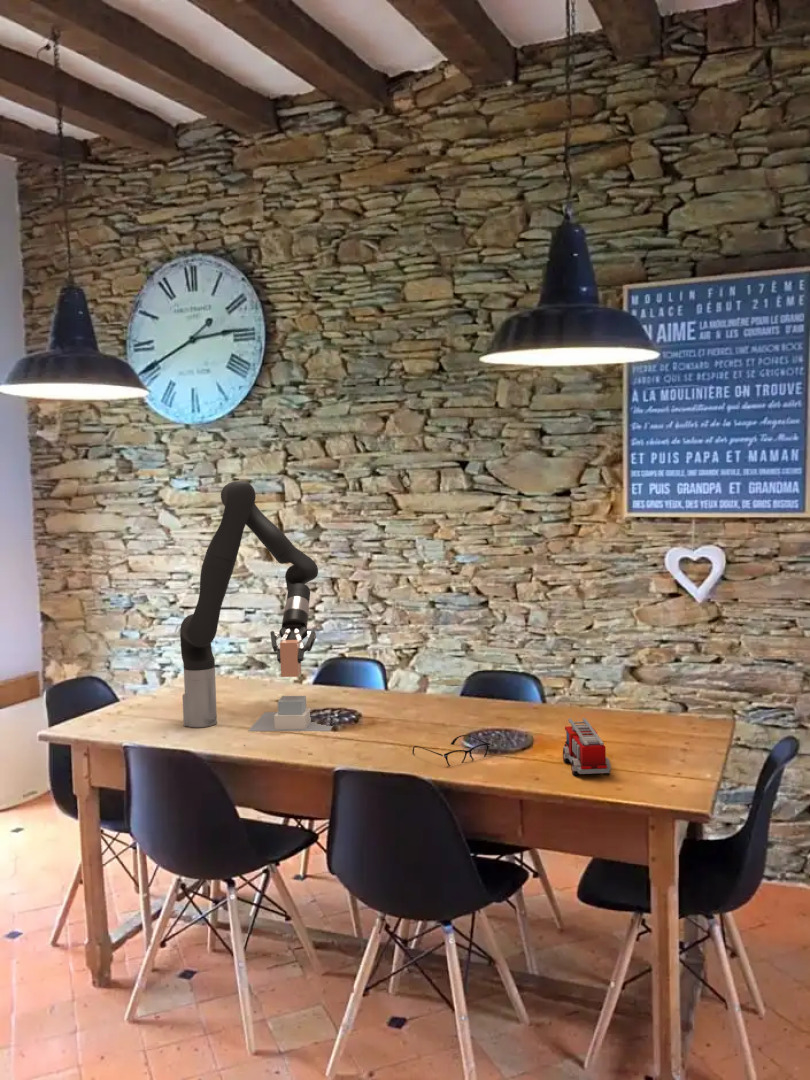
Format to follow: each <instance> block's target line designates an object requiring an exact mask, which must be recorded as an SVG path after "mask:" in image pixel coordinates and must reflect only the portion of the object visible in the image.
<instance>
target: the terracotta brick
mask: <svg viewBox="0 0 810 1080" xmlns="http://www.w3.org/2000/svg"><path fill="white" fill-rule="evenodd" d="M299 643H300V642H299V640H285V641H282V642H281V641H280V642H279V644H280V658H281V663H280V677H281V678H293V677H295V678H298V677H300V675H301V674H302V662H301V663H298V651H299V649H300V647H299Z"/></svg>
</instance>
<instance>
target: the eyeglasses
mask: <svg viewBox="0 0 810 1080" xmlns="http://www.w3.org/2000/svg"><path fill="white" fill-rule="evenodd" d="M462 737H468V738H469V737H470V738H471V739H474V740H477V741H479V742H481V743H480V744H478V745H476V746H473V747H471V748H470V749H467V750H465V749H457V750H456V749H455V750H452V751H449V752H446V753H444V754H441V753H439V752H437V751H433V750H430V749H428V748H424V747H421V746H418V745H415V746H413V747H412V755H414V754H415V749H416V748H419V749H422V750H425V751H428V752H430V753H433V754H435V755H438V756H441V757H443V758H445V762H446V764H447V765H448V766H452V765H451V764H450V763H449V759H448V756H449V755H451V754H453V753H457V752H464V755H463V759H462V761H461V764H463V763H464V762H465V760H466V757H467V756H468V757H469V758H471V760H472V761H475V759H474V758H473V756H472V751H473V750H475V749H477V748H478V747H481V746H486V750H485V752H484V755H483V758H485V757H486V756H487V754H488V750H489V748H490V746H491V743H489V742H485V741H483V740H481V739H478V738H476V737H473V736H471V735H469V734H468V735H467V734H463V735H458V736H457V737H455V738H454V739H453V740H452V741H451V742H450V745H455V743H456V742H457V740H458V739H459V738H462ZM467 754H468V755H467Z"/></svg>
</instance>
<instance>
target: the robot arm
mask: <svg viewBox="0 0 810 1080" xmlns="http://www.w3.org/2000/svg"><path fill="white" fill-rule="evenodd" d="M220 498H221V499H220V500H221V502H222V504H223V507H224V508H223V514H222V518H221V521H220V523H219V526H218V528H217V530H216V531H215V534H213V537H212V539H211V541H210V542H209V544H208V546H207V549H206V552H205V555H204V557H203V558H204V559H203V562H202V565H201V568H200V578H199V594H198V600H197V603H196V606H195V609H194V612H193V613H191V614H189V615H187V616H186V617H184V618H183V620H182V621H181V624H180V627H179V628H180V630H179V635H180V636H179V637H180V654H181V659H182V664H183V683H184V684H183V686H184V693H183V694H182V717H183V718H182V719H183V727H190V728H206V727H211V726H214V725H216V724H217V723H218V713H217V711H218V710H217V686H216V685H217V684H216V663H215V662H216V661H215V656H214V654H213V650H212V642H213V641H214V639H215V638H216V635H217V632H218V627H219V622H220V621H219V620H220V614H221V611H222V610H221V609H222V607H223V603H224V600H225V599H224V598H225V596H226V593H227V590H228V588H229V584H230V582H231V578H232V575H233V572H234V568H235V565H236V561H237V558H238V553H239V551H240V546H241V543H242V537H243V533H244V530H245V528H246V526H247V527H248V528H249V529H250V531H251V532H252V533H253V534H254V535H255V536H256V538H258V540H259V541H260V542H261V544H262V545H263V546H264V547H265V548H266V549H267V551H268V552H269V553H270V555H271V556H272V557H273V558H274V559H275V560H276V561H277V562H278V563H279V564H288V563H289V564H292V565H290V566H289V567H288V568H287V570H286V571H285V575H284V576H285V577H284V578H285V584H286V590H287V594H286V600H285V604H284V608H283V609H284V610H283V617H282V623H281V628H280V630H279V631H274V630H272V631H270V634H269V635H270V639H271V641H270V642H271V647H272V649H273V652H275V653H276V652H277V654H276V660H277V662H278V663H279V664H281V658H280V643H279V644H277V643H278V642H277V640H278V639H279V637H281V639H280V642H282V641H285V640H299V642H300V643H299V647H300V649H299V651H298V663H301V664H302V662H303V661H304V658H305V657H304V656H305V652H311V651H312V648H313V646H314V644H315V641H316V638H317V634H316V630H311V631H310V630H308V623H309V622H308V621H309V616H310V600H311V589H310V587H309V586H308V585H307V584H308V583H309V582H311V581H313V580H315V579H316V578H317V576H318V575H319V569H318V565H317V564H316V562H315V561H314V560H313V558H311V557H310V556H309V555H307V554H306V553H305V552H303V551H301V550H300V549H299V548H297V547H295V546H294V544H293V542H292V541H290V539H289V538H288V537H287V536H286V534H285V533H283V531H282V530H281V529H280V528H279V527H277V526H276V524H274V523H273V521H271V520H270V519H269V518H267V516H265V515H264V513H263V512H262V511H261V510H260V509H259V508H258V506H257V505H256V491H255V488H254V487H253V485H252V484H250V482H247V481H243V480H238V481H231V482H228V483H227V484H226V485H224V486H223V488H222V490H221V493H220ZM307 637H308V638H307ZM305 638H307V641H306V643H305V644H303V640H305Z"/></svg>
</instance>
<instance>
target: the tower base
mask: <svg viewBox="0 0 810 1080" xmlns="http://www.w3.org/2000/svg"><path fill="white" fill-rule="evenodd" d="M276 712H277V713H276V714H275V715H274V728H275V730H287V729H306V728H307V726H308V725H309V723H310V722H311V717H310V712H311V708H310V707H309V708H307V695H282V696H281V697H280V698H279V699H278V701H277V711H276Z"/></svg>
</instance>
